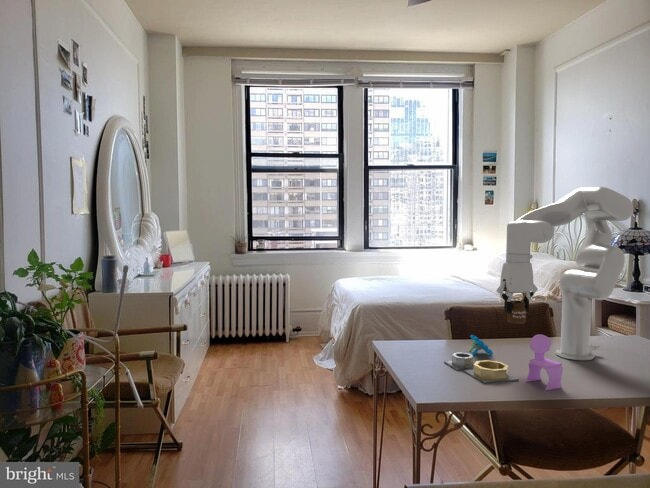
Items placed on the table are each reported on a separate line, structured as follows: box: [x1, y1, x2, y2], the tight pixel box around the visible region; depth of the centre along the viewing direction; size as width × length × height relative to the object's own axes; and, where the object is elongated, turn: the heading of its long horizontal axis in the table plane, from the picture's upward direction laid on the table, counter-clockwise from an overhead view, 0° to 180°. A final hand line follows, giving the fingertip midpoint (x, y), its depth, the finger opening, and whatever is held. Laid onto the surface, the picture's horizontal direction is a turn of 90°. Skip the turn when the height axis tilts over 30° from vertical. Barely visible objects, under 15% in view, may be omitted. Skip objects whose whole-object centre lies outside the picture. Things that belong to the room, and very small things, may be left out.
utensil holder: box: [506, 293, 527, 325], centre depth 173 cm, size 6×6×12 cm
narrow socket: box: [444, 352, 475, 372], centre depth 176 cm, size 9×9×4 cm
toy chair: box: [524, 334, 564, 391], centre depth 158 cm, size 8×9×15 cm
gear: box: [468, 334, 494, 356], centre depth 189 cm, size 11×6×10 cm
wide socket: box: [463, 359, 520, 385], centre depth 165 cm, size 12×12×4 cm
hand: (516, 311), depth 174 cm, fingers closed on utensil holder, 5 cm apart
